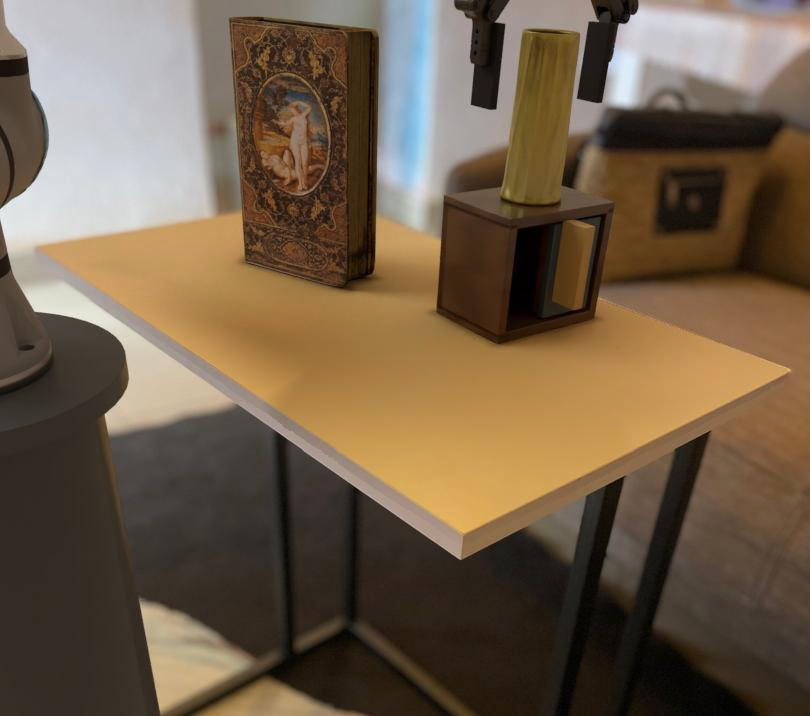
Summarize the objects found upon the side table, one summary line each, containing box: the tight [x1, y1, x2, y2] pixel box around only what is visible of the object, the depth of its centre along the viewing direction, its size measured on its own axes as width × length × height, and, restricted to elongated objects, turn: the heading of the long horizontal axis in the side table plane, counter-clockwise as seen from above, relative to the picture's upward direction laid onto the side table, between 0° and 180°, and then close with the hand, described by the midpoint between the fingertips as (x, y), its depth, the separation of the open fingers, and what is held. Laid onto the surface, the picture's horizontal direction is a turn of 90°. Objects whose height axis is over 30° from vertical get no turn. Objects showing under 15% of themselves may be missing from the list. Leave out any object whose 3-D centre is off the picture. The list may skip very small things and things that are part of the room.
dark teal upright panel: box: [537, 215, 601, 318], centre depth 84 cm, size 4×6×10 cm, turn 126°
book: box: [228, 16, 380, 288], centre depth 92 cm, size 16×6×25 cm, turn 57°
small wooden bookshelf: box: [435, 185, 616, 344], centre depth 87 cm, size 10×14×12 cm
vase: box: [500, 27, 581, 206], centre depth 79 cm, size 6×6×14 cm
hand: (538, 104), depth 78 cm, fingers open, 13 cm apart
